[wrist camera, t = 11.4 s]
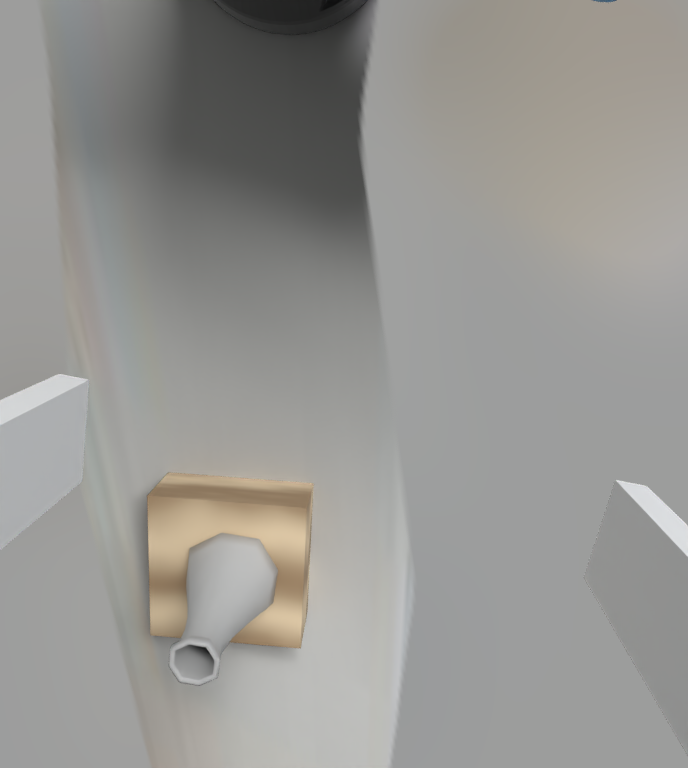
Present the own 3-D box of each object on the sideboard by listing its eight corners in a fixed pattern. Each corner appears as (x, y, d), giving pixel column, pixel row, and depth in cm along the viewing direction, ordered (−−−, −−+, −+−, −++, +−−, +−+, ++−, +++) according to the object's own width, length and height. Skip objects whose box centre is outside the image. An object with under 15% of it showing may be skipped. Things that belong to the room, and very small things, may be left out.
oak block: (169, 470, 49) (147, 495, 44) (313, 481, 49) (306, 508, 44) (171, 598, 52) (150, 635, 47) (307, 610, 52) (300, 648, 47)
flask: (176, 536, 45) (121, 618, 35) (269, 524, 44) (239, 604, 35) (197, 620, 47) (150, 719, 37) (287, 609, 46) (263, 708, 36)
